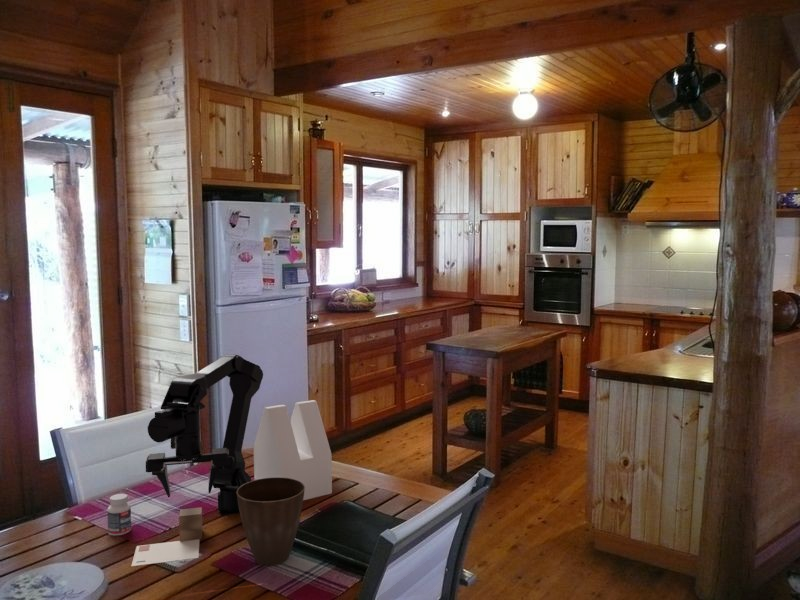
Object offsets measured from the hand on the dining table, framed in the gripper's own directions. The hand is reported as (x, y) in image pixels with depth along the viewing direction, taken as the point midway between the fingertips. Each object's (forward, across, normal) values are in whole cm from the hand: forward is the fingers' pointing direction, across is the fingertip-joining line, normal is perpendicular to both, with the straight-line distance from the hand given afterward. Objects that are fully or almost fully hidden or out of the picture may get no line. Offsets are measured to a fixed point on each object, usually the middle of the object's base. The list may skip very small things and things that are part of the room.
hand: (189, 494), depth 155 cm
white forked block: (+11, -27, -25) cm, 38 cm away
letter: (+11, +5, +7) cm, 14 cm away
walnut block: (+10, 0, 0) cm, 10 cm away
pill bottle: (+11, +17, -8) cm, 22 cm away
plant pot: (+11, -18, +16) cm, 26 cm away
